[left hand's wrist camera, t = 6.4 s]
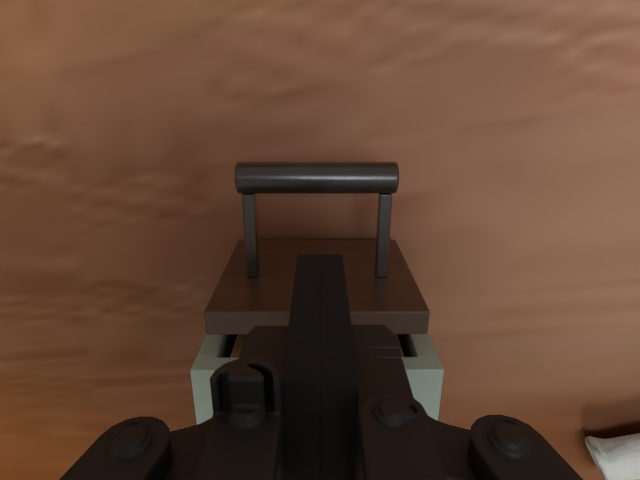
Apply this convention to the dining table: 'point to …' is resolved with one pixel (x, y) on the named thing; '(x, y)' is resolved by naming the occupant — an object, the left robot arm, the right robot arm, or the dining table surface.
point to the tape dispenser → (616, 456)
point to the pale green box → (417, 359)
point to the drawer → (281, 255)
